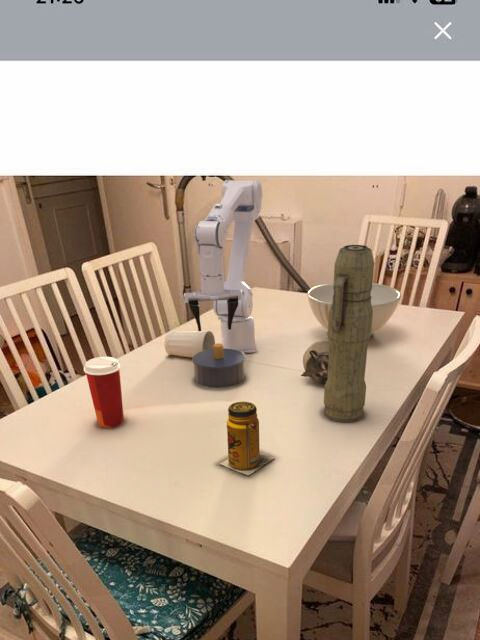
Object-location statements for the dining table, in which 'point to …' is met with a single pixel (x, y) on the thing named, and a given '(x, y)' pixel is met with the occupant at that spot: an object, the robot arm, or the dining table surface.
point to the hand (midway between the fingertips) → (214, 329)
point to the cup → (188, 343)
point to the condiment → (244, 439)
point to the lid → (218, 358)
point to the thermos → (349, 334)
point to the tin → (219, 376)
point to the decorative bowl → (381, 300)
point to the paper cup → (105, 390)
